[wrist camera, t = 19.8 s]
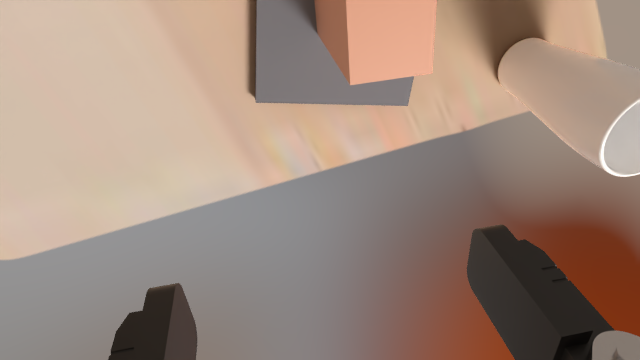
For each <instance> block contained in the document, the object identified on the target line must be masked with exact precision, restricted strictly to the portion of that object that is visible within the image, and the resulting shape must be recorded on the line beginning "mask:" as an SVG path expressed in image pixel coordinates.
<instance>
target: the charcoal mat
mask: <svg viewBox="0 0 640 360" xmlns="http://www.w3.org/2000/svg"><path fill="white" fill-rule="evenodd" d="M413 78H414V76H411V77H404V78H397V79H390V80H384V81H377V82H370V83H363V84H356V85H350V84H349V83H348V81H347V80H346V78H345V76H344V75H343V73H342V72H341V70H340V69H339V67H338V65H337V64H336V62H335V61H334V59H333V58H332V56H331V54H330V53H329V51H328V50H327V48H326V47H325V45H324V43H323V42H322V40H321V39H320V37H319V36H318V34H317V23H316V12H315V1H314V0H256V84H255V100H256V103H298V104H345V105H391V106H408V102H409V97H410V92H411V88H412V83H413Z"/></svg>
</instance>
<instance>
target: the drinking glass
mask: <svg viewBox="0 0 640 360" xmlns="http://www.w3.org/2000/svg"><path fill="white" fill-rule="evenodd" d="M498 79H499V82H500V84H501V86H502V87H503V88H504V89H505V90H506V91H507V92H508V93H510V94H511V95H513V96H514V97H515V98H517V99H518V100H519V101H520V102H521V103H522V104H523V105H524V106H526V107H527V108H528V109H529V110H530V111H531V112H532V113H533V114H534V115H535V116H537V117H538V118H539V119H540V120H541V121H542V122H543V123H544V124H545V125H546V126H548V127H549V128H550V129H551V130H552V131H553V132H554V133H555V134H556V135H557V136H559V137H560V138H561V139H562V140H563V141H564V142H565V143H566V144H567V145H569V146H570V147H571V148H573V149H574V150H575V151H577V152H578V153H579V154H581V155H582V156H583V157H585V158H586V159H588V160H589V161H591V162H593V163H594V164H595V165H597V166H599V167H600V168H602V169H603V170H605V171H606V172H608V173H610V174H612V175H615V176H623V177H625V176H633V175H638V174H640V69H638V68H635V67H632V66H629V65H625V64H622V63H618V62H615V61H612V60H608V59H605V58H601V57H597V56H594V55H590V54H587V53H583V52H580V51H576V50H573V49H569V48H566V47H562V46H559V45H556V44H552V43H550V42H548V41H546V40H543V39H540V38H527V39H524V40H521V41H519V42H517V43H515V44H514V45H513V46H511V47H510V48H509V49H508V50H507V52H506V53H505V54H504V56H503V57H502V59H501V61H500V64H499V67H498Z"/></svg>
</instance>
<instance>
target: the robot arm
mask: <svg viewBox="0 0 640 360" xmlns="http://www.w3.org/2000/svg"><path fill="white" fill-rule="evenodd" d="M467 275H468V280H469V283H470V286H471V288H472V290H473V292H474V294H475V295H476V297H477V299H478V300H479V302H480V303H481V305H482V307H483V308H484V310H485V312H486V313H487V315H488V316H489V318H490V320H491V321H492V323H493V325H494V326H495V328H496V329H497V331H498V333H499V334H500V336H501V337H502V339H503V341H504V342H505V344H506V346H507V347H508V349H509V351H510V352H511V354H512V355H513V357H514V359H515V360H640V337H638V336H636V335H633V334H630V333H626V332H622V331H615V330H614V329H613V328H612V327H611V326H610V325H609V324H608V323H607V321H606V320H605V319H604V318H603V317H602V316H601V315H600V314H599V312H598V311H597V310H596V309H595V308H594V307H593V306H592V305H591V303H590V302H589V301H588V300H587V299H586V298H585V297H584V296H583V295H582V293H581V292H580V291H579V290H578V289H577V288H576V287H575V286H574V284H572V282H571V281H568V279H567V277H566V275H565V274H564V273H563V272H562V271H561V270H560V269H559V268H557V266H556V264H555V263H554V262H553V261H552V260H551V259H550V258H549V256H548V255H547V254H546V253H545V252H544V251H543V250H541V249H540V248H538V247H537V246H535V245H533V244H531V243H530V242H528V241H527V240H520V241H518V240H517V239H516V238H515V237H514V235H513V234H512V233H511V232H510V231H509V230H508V228H507V227H506V226H504V225H495V226H490V227H484V228H479V229H475V230H474V231H473V233H472V239H471V245H470V252H469V259H468V265H467ZM196 352H197V331H196V324H195V320H194V318H193V315H192V312H191V310H190V307H189V304H188V302H187V299H186V296H185V294H184V291H183V288H182V286H181V285H180V284H179V283H176V284H171V285H166V286H159V287H155V288H149V289H148V291H147V294H146V298H145V303H144V307H143V311H138V312H132V313H129V315H128V316H127V317H126V319H125V320H124V321H123V323H122V324H121V326H120V327H119V328H118V330H117V331H116V334H115V338H114V342H113V345H112V348H111V355H110V356H109V359H108V360H196Z"/></svg>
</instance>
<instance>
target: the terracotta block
mask: <svg viewBox="0 0 640 360" xmlns="http://www.w3.org/2000/svg"><path fill="white" fill-rule="evenodd" d="M314 1H315V12H316V23H317V34H318V36H319V37H320V39H321V40H322V42H323V43H324V45H325V47H326V48H327V50H328V51H329V53H330V54H331V56H332V58H333V59H334V61H335V62H336V64H337V65H338V67H339V69H340V70H341V72H342V73H343V75H344V76H345V78H346V80H347V81H348V83H349V84H350V85H356V84H363V83H370V82H377V81H384V80H390V79H397V78H404V77H411V76H418V75H425V74H432V71H433V55H434V39H435V22H436V6H437V0H314Z"/></svg>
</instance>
